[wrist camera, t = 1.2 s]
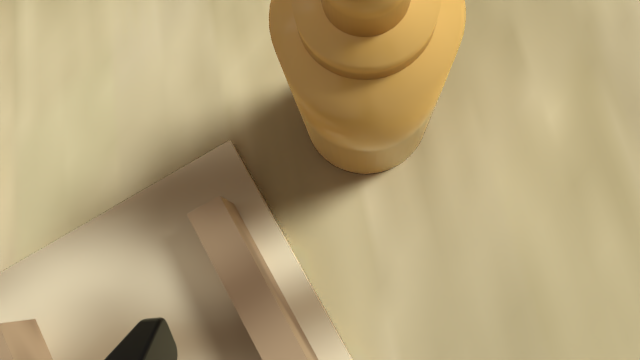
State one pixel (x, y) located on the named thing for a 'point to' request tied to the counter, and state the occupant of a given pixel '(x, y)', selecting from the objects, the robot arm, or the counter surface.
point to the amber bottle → (366, 72)
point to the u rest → (171, 277)
